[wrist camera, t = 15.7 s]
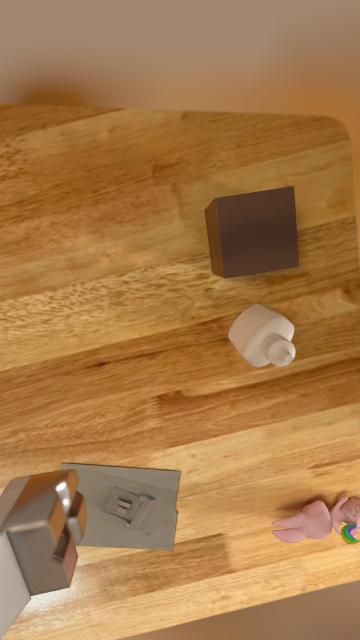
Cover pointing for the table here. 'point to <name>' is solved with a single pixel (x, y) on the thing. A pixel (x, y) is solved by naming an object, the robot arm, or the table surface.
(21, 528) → the robot arm
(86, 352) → the table surface
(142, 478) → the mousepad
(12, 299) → the table surface
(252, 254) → the walnut block
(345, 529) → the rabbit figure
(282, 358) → the eye dropper bottle
